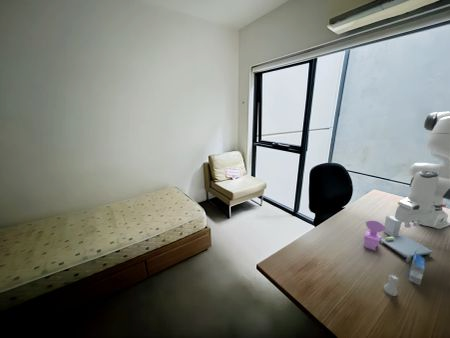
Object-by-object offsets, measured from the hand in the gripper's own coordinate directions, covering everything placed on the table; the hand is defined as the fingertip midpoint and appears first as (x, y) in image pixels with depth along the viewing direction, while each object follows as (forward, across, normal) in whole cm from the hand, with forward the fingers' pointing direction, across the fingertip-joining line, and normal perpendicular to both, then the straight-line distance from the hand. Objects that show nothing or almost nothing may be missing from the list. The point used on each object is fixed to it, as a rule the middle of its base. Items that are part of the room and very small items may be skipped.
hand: (411, 226), depth 98 cm
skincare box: (+14, -4, -11) cm, 19 cm away
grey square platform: (+14, +1, +1) cm, 14 cm away
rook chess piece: (+15, +33, +20) cm, 41 cm away
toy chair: (+15, +16, -5) cm, 22 cm away
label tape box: (+15, +15, +16) cm, 26 cm away
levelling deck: (+11, +9, +1) cm, 15 cm away
